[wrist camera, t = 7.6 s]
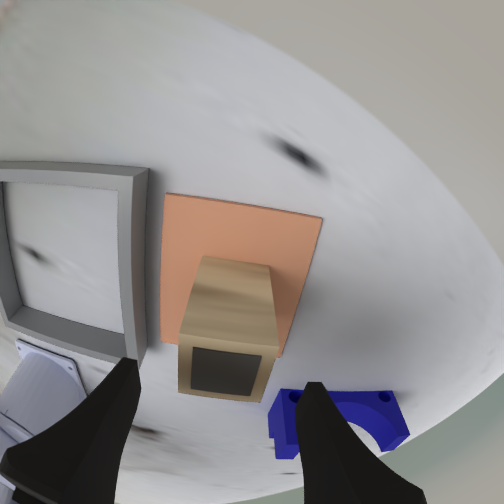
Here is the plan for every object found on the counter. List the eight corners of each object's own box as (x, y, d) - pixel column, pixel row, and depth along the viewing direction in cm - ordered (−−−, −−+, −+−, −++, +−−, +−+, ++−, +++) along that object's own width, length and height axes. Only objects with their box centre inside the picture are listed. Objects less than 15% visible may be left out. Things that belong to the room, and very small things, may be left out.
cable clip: (267, 413, 25) (270, 465, 20) (280, 386, 23) (286, 444, 18) (371, 413, 26) (385, 456, 21) (391, 388, 25) (410, 434, 19)
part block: (256, 317, 19) (260, 404, 13) (196, 309, 19) (177, 394, 12) (268, 265, 17) (279, 348, 11) (202, 255, 17) (178, 334, 11)
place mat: (279, 354, 21) (280, 358, 21) (161, 338, 20) (160, 341, 20) (320, 217, 17) (322, 219, 16) (166, 192, 16) (164, 194, 15)
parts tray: (147, 346, 21) (139, 369, 19) (19, 310, 20) (5, 325, 17) (149, 168, 15) (133, 176, 13) (-5, 161, 14) (-27, 169, 12)
